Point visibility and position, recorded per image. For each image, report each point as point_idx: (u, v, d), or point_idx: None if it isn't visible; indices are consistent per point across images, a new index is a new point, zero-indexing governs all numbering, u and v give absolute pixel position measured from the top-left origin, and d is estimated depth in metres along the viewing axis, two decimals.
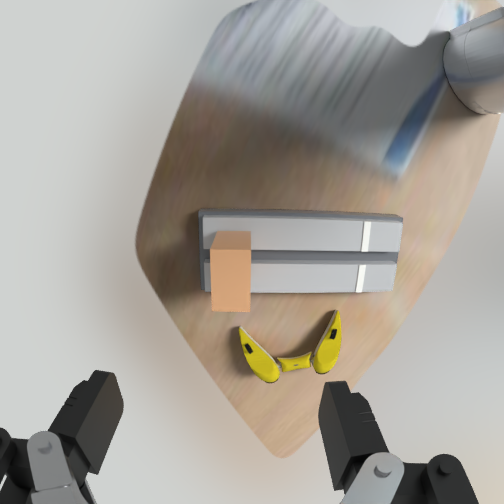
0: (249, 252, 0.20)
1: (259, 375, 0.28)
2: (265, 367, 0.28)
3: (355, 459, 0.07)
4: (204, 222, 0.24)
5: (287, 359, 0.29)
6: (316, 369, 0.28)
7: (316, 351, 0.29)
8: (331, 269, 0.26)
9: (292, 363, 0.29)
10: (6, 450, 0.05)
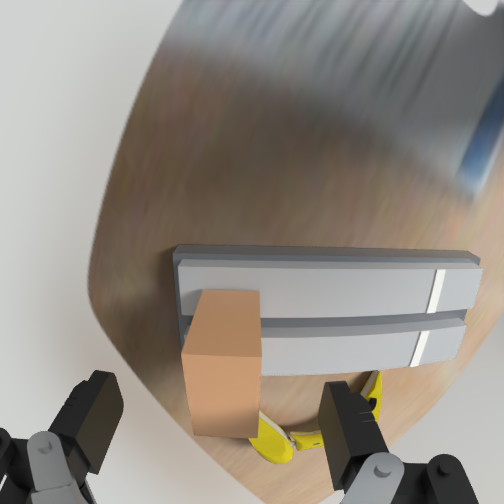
0: (258, 361, 0.09)
1: (265, 457, 0.18)
2: (274, 448, 0.18)
3: (355, 459, 0.07)
4: (181, 274, 0.14)
5: (304, 435, 0.19)
6: None
7: None
8: (382, 341, 0.15)
9: (311, 441, 0.18)
10: (6, 450, 0.05)
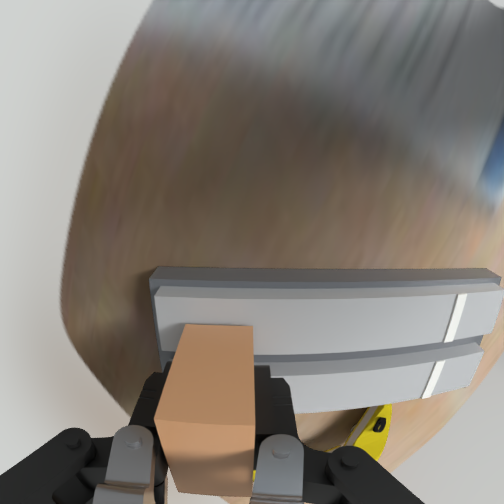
0: (251, 429, 0.07)
1: None
2: None
3: (259, 438, 0.08)
4: (158, 305, 0.12)
5: None
6: None
7: None
8: (393, 375, 0.13)
9: None
10: (88, 451, 0.06)
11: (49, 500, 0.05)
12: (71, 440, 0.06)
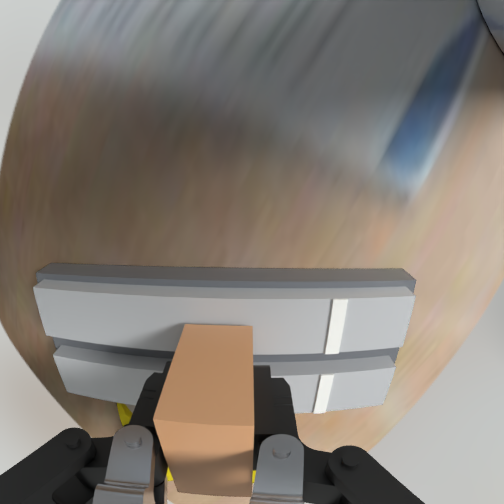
0: (250, 429, 0.07)
1: None
2: None
3: (259, 438, 0.08)
4: (36, 295, 0.12)
5: None
6: None
7: None
8: None
9: None
10: (88, 451, 0.06)
11: (49, 500, 0.05)
12: (71, 440, 0.06)
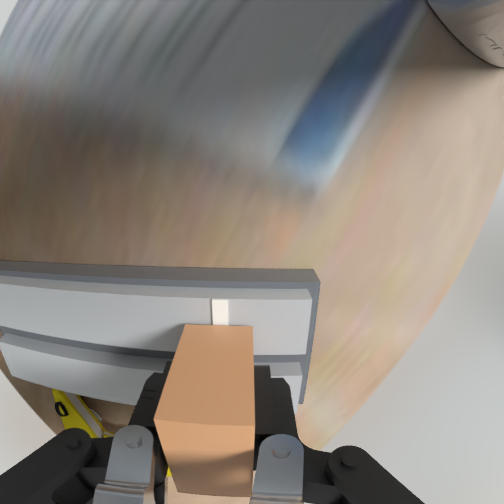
0: (250, 429, 0.07)
1: None
2: None
3: (259, 438, 0.08)
4: None
5: None
6: None
7: None
8: None
9: None
10: (88, 451, 0.06)
11: (49, 500, 0.05)
12: (71, 440, 0.06)
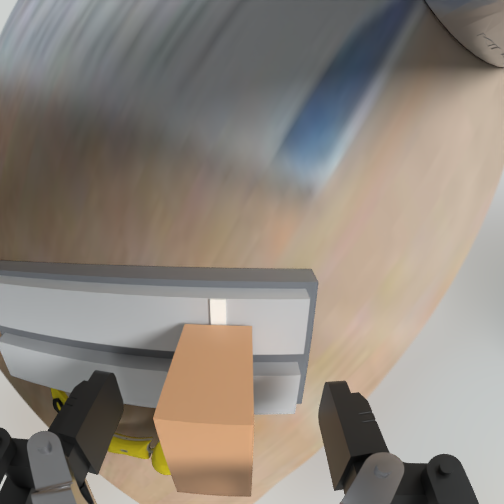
0: (249, 429, 0.07)
1: None
2: None
3: (355, 459, 0.07)
4: None
5: (114, 437, 0.15)
6: None
7: (158, 441, 0.15)
8: (160, 379, 0.13)
9: (119, 446, 0.15)
10: (6, 450, 0.05)
11: None
12: None
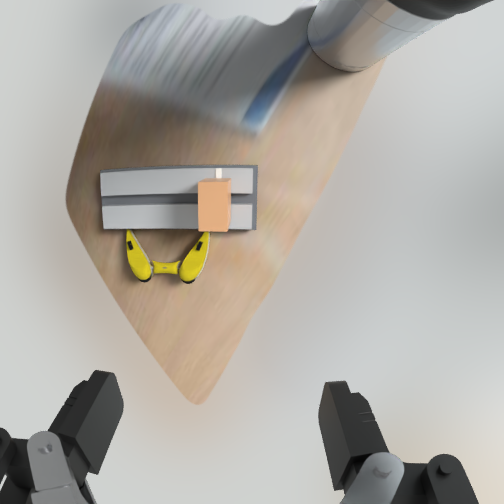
0: (226, 183, 0.26)
1: (133, 270, 0.33)
2: (139, 264, 0.33)
3: (355, 459, 0.07)
4: (101, 176, 0.31)
5: (159, 262, 0.34)
6: (180, 275, 0.34)
7: (184, 260, 0.34)
8: (192, 209, 0.32)
9: (162, 265, 0.34)
10: (6, 450, 0.05)
11: None
12: None
